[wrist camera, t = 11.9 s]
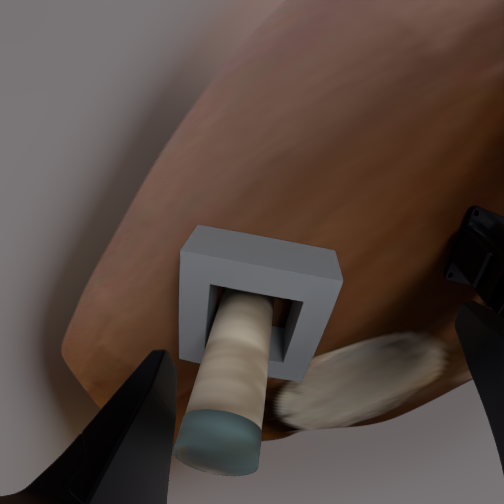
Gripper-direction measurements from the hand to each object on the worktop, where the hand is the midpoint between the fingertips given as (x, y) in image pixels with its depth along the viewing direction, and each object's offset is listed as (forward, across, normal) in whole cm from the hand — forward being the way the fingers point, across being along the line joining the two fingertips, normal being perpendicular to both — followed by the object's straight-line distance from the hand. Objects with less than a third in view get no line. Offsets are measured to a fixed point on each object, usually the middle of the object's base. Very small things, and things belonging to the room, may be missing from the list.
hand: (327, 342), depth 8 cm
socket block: (+13, +3, +8) cm, 16 cm away
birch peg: (+14, +3, +8) cm, 16 cm away
